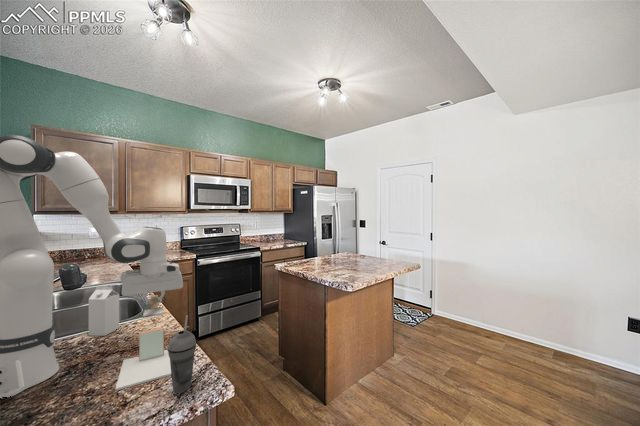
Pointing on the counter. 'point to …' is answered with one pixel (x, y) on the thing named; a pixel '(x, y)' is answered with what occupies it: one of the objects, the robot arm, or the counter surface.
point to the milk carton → (103, 311)
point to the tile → (151, 344)
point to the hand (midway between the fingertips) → (154, 303)
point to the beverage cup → (182, 359)
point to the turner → (153, 308)
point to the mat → (143, 370)
